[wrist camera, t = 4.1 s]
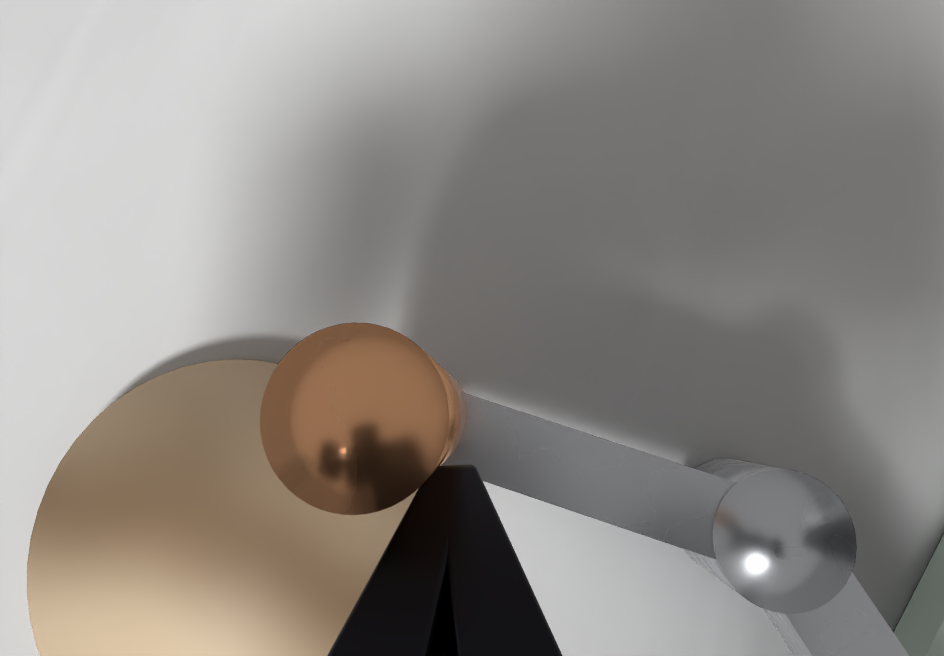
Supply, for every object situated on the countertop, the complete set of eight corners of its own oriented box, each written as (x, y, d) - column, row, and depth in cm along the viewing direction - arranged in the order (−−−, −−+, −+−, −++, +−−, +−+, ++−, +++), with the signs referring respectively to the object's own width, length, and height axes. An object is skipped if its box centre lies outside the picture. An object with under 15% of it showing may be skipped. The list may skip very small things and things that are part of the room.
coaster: (405, 796, 15) (401, 812, 14) (7, 739, 16) (-12, 752, 15) (453, 383, 16) (452, 382, 16) (85, 341, 17) (70, 339, 16)
